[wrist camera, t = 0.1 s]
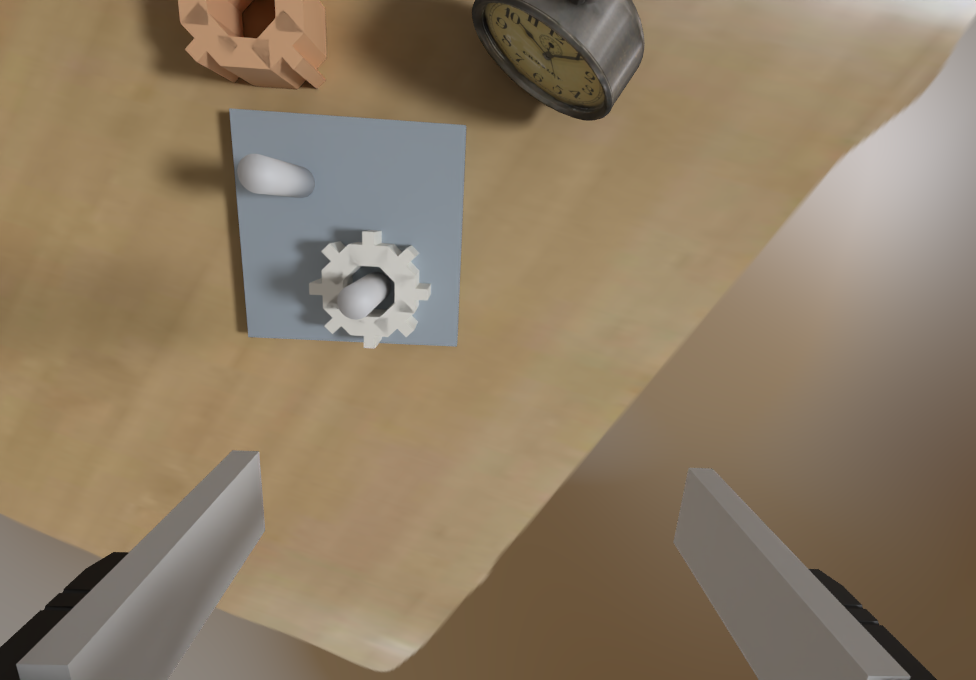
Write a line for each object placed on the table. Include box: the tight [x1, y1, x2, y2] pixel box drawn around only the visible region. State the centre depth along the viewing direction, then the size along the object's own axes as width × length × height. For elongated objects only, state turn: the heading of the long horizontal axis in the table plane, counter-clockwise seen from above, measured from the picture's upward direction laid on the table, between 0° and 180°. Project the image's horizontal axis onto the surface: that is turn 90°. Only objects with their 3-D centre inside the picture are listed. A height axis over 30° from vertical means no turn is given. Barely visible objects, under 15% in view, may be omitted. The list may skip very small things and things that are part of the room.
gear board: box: [229, 109, 466, 348], centre depth 34 cm, size 18×18×9 cm
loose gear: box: [178, 0, 327, 89], centre depth 32 cm, size 8×8×5 cm
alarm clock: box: [472, 0, 644, 120], centre depth 28 cm, size 11×5×16 cm, turn 56°
